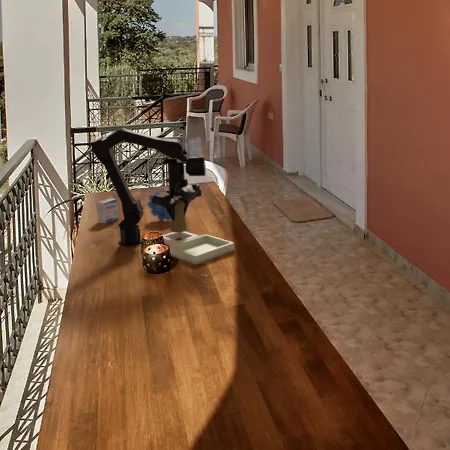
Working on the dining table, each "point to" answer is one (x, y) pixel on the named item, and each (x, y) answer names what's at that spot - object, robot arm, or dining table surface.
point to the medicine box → (107, 210)
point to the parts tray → (201, 249)
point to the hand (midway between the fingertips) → (178, 219)
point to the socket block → (177, 237)
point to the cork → (179, 217)
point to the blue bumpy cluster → (158, 209)
